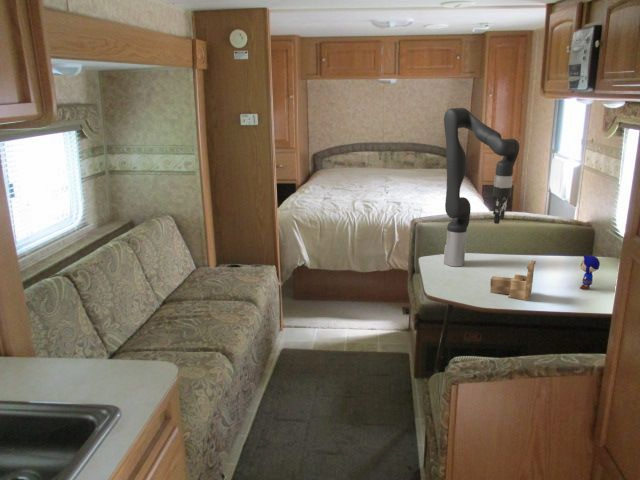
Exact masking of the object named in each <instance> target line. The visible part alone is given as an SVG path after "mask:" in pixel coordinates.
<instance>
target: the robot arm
mask: <svg viewBox="0 0 640 480" xmlns="http://www.w3.org/2000/svg"><path fill="white" fill-rule="evenodd" d="M443 126H444V136H445V148H446V151H445V152H446V158H445V159H446V162H445V163H446V167H445V168H446V192H445V206H444V208H445V213H446V215H447V216H448V217H449V218H450V219H451V220H450V222H449V223H448V224H447V225H446V226H447V227H446V241H445V242H446V244H445V245H444V252H443V255H444V256H443V264H444V265H446V266H450V267H454V268H455V267H463V266H464V265H465V259H466V258H465V255H466V244H467V243H466V242H467V230H468V227H469V224H470V218H471V217H470V216H471V202H470V201H469V199H468V198H466V197H463V196H462V197H461V195H460V194H461V186H462V183H463V181H464V178H465V177H466V174H467V166H468V165H467V154H466V151H465V150H464V147H463V146H462V144H461V142H460V139H459V129H461V128H462V129H463V128H464V129H466V130H470V131H472V133H473V134H474V136H475V138H476V140H478V141H479V142H481V143H482V144H484V145H486V146H487V147H489V149H491V151H492V152H493V153H495V154H496V155H498V156H500V157H502V159H501V160H499V161H498V162H497V163H496V166H495V175H494V179H493V189H492V195H493V196H494V197H496V198H497V199H496V200H494V204H493V205H494V206H493V212H492V214H493V216H494V218H493V224H495V225H496V224H497V225H498V224H500V220H504V219H505V213H506V209H507V208H508V198H510V197H512V189H513V176H514V174H513V173H514V166H515V164H516V161H517V159H518V157H519V156H518V155H519V152H520V144H519V142H518V141H519V140H517V139H516V138H502V134H501V133H500V132H498V131H497V130H495V129H493V128H492V127H490V126H489V125H486V123H483V122H482V121H481V120H480V119H478V118H477V117H476V116H475V114H473V113H471V112H470V111H469V110H468V109H466V108H464V107H455V108H448V109H447V110H446V111H445V112H444V117H443Z"/></svg>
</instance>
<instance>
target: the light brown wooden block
mask: <svg viewBox="0 0 640 480" xmlns="http://www.w3.org/2000/svg"><path fill="white" fill-rule="evenodd" d="M512 279H514V280H520V281H524V278H523V277H522V278H521V279H516V278H515V277H505V276H503V277H502V276H497V275H495V276H492V277H491V278H490V293H494V294H503V295H509V294H510V287H511V280H512Z"/></svg>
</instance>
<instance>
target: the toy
mask: <svg viewBox="0 0 640 480" xmlns="http://www.w3.org/2000/svg"><path fill="white" fill-rule="evenodd" d="M600 266H601V263H600V260H599V258H598V257H597V256H596V255H587V254H585V255H583V260H582V262H581V264H580V269H581V270H582V271H583V272H585V273H584V274H583V277H582V280H581V281H582V284H581V285H580V286H579V289H581V290H585V291H589V289H590V288H591V285H592V284H593V272H596V271H597V270H599V269H600Z"/></svg>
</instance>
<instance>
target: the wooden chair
mask: <svg viewBox="0 0 640 480" xmlns="http://www.w3.org/2000/svg"><path fill="white" fill-rule="evenodd" d="M536 264H537V263H536V260H534V259H533V260H530V261H529V263H528V265H527V266H526V269H527V273H526V275H524V274H519V273H515V274H514V278H516V279H521V278H522V277H523V278H524V281H520V280H514V279H512V280H511V287H510V294H508V295H507V298H508V299H514V300H518V301H519V300H520V301H524V302H528V301H529V299H530V297H531V295H532V292H533V291H532V290H533V281H534V274H535V273H534V272H535V265H536Z"/></svg>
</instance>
